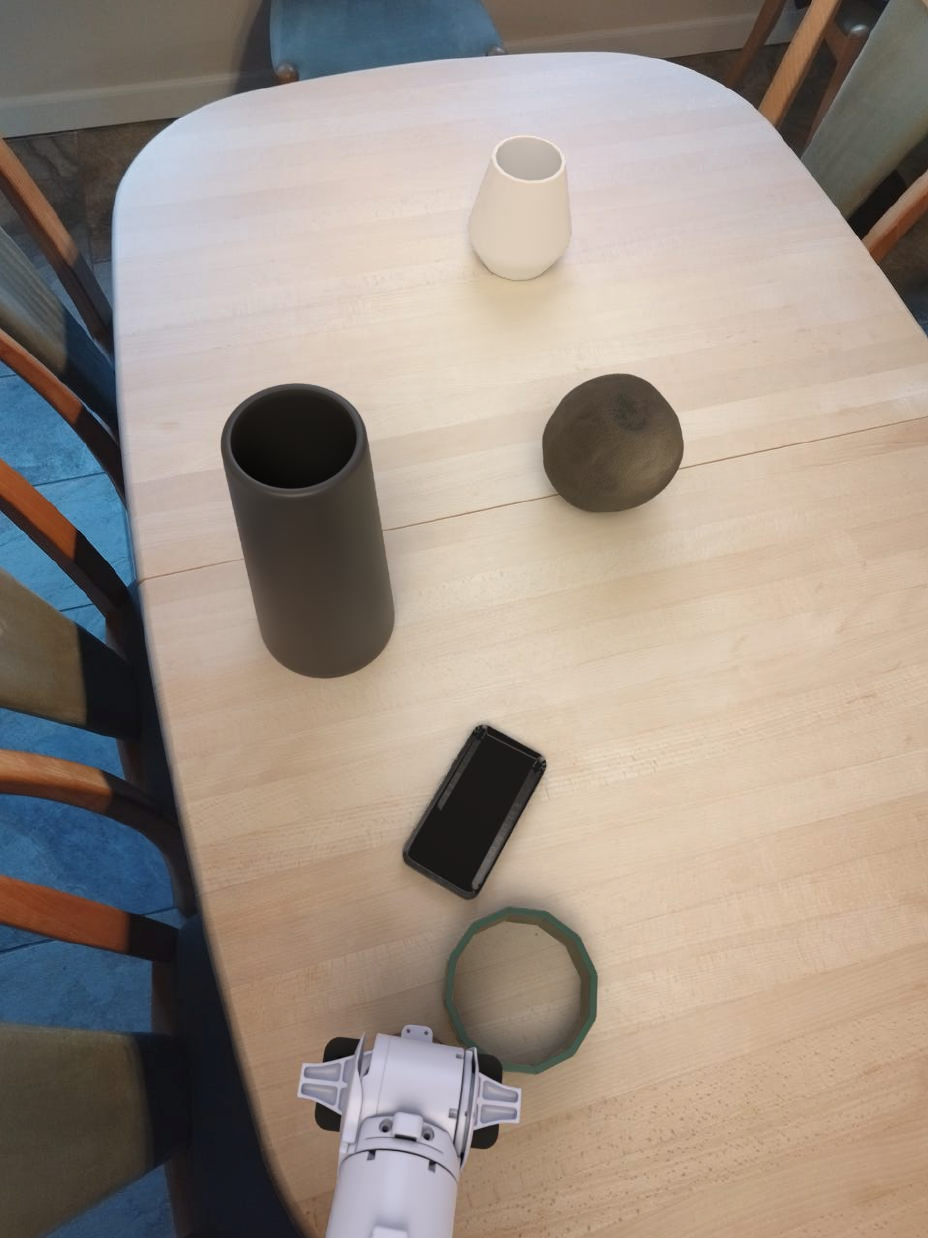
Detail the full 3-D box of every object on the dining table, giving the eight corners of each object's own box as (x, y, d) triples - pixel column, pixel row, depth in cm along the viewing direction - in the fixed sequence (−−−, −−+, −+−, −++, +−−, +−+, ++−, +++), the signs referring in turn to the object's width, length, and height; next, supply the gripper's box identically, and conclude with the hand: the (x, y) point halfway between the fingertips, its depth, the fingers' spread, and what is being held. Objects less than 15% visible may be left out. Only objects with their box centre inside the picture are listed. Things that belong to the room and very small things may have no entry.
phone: (551, 759, 82) (473, 903, 75) (549, 763, 83) (472, 905, 76) (478, 719, 83) (396, 856, 77) (477, 723, 84) (396, 859, 78)
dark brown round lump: (548, 548, 94) (571, 464, 80) (523, 444, 100) (541, 350, 87) (672, 535, 95) (715, 450, 82) (641, 434, 102) (676, 340, 88)
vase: (416, 646, 88) (419, 475, 62) (289, 700, 84) (235, 543, 58) (362, 542, 93) (344, 343, 67) (240, 588, 90) (172, 398, 64)
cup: (490, 208, 118) (499, 108, 106) (581, 241, 116) (602, 143, 104) (448, 269, 112) (453, 171, 100) (543, 305, 110) (560, 210, 98)
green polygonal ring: (584, 1080, 71) (594, 1082, 67) (436, 1063, 71) (437, 1063, 67) (589, 924, 76) (599, 917, 72) (452, 908, 76) (455, 900, 72)
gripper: (533, 1036, 54) (510, 1041, 66) (303, 1009, 54) (322, 1018, 66) (525, 1168, 51) (503, 1148, 63) (281, 1139, 51) (305, 1124, 63)
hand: (410, 1089), depth 65 cm, fingers open, 7 cm apart
